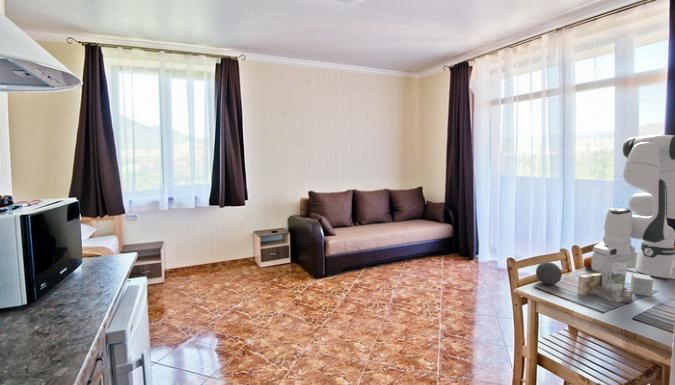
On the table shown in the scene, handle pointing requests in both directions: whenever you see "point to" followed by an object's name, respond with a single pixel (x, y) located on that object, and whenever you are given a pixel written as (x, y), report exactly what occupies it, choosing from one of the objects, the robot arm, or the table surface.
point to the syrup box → (616, 277)
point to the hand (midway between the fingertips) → (612, 279)
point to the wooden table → (601, 289)
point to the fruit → (588, 263)
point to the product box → (641, 284)
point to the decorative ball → (548, 273)
